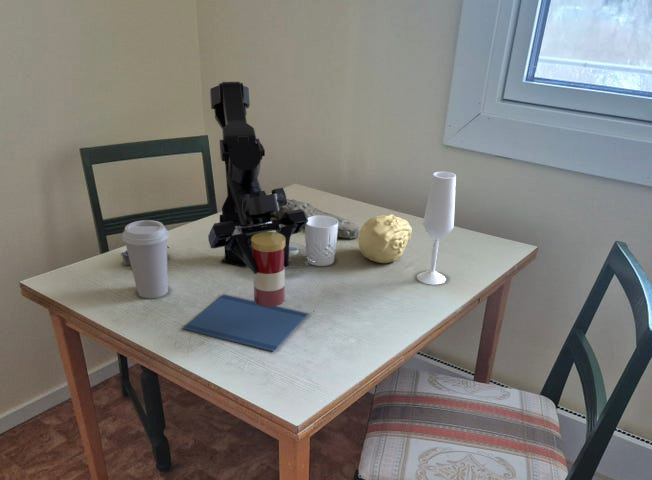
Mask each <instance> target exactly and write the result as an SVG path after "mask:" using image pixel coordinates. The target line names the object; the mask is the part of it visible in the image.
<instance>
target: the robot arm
mask: <svg viewBox="0 0 652 480" xmlns="http://www.w3.org/2000/svg"><path fill="white" fill-rule="evenodd" d="M249 89H250V88H249V87H248V86H246V85H244V83H243V82H240V81H221V82H219V83H218V85H216V86H213V87H211V88H209V100H210V109H211V110H213V112H214V113H213V114H214V119H215V120H216V122H217V123H218V125H219V127H220V128H221V131H222V139H219V153H220V160H221V161H222V162H224V167H225V180H226V192H227V194H226V195H227V196H226V198H225V200H224V202H223V205H222V207H221V214H219V222H215V223H214V224H213V225H212V227H211V229H210V231H209V234H208V236H207V238H208V242H209V243H208V244H209V246H210V248H211V249H219V248H223V247H224V257H223V258H222V259H221V262H222V263H224V264H230V265H233V266H235V265H236V266H239V267H248V269H249V270H250V271H251V272H252V274H253V273H254V274H256V273H257V267H256V263H255V261H254V258H253V252H252V246H251V237H252V236H253V235H255V234H257V233H261V232H274V231H275V232H276V233H280V234H282V235H284V236H285V238H286V245H285V269H287V268H288V267H289V265H290V241H291V237H292V235H296V234H299V233H301V231H302V230H303V229H304V228H305V225H306V223H307V222H308V218H307V215H306V213H305V212H304V211H303V210H301V209H299V210H293V211H287V212H285V213H284V214H283V216H282V217H281V219H279V218H278V219H272V218H275V211H280V209H279V206H284V205H286V204H287V199H288V198H287V194H286V191H285V189H284V187H278V188H274V189H272V190H271V193H268V194H267V192H266V191H265V190H262V187H261V183H260V181H259V175H260V170H261V162H262V160H263V157H265V156H266V152H265V151H266V150H265V148H264V145H263V144H262V143H261V140H260V138H257V136H256V130H255V128H254V127H253V126H251V124H249V123H248V121H247V117H246V116H247V109H249V108H250V105H251V103H250V90H249Z"/></svg>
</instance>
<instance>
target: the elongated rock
mask: <svg viewBox="0 0 652 480" xmlns="http://www.w3.org/2000/svg"><path fill="white" fill-rule="evenodd" d="M279 209H280V211H275V215H274V217H277V218H278V219H281V217H282V216H283V214H284V213H285V212H287V211H293V210H299V209H301V210H303V211H304V212H305V213H306V215H307V218H309V217H312V216H319V215H322V216H330V217H333V218H335V219H337V220H338V232H337V237H339V238H344V239H358V236H359V232H360V230H361V226H359V225H358V224H356V223H355V222H354V221H352V220H349V219H346V218H344V217H340V216H338V215H335V214H332V213H329V212H325V211H322V210H321V209H319V208H317V207H314V206H313V205H312V204H310V203H309V202H305V201H299V200H297V199H289V198H287V204H286V205H284V206H279Z"/></svg>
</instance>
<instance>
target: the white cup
mask: <svg viewBox="0 0 652 480" xmlns="http://www.w3.org/2000/svg"><path fill="white" fill-rule="evenodd" d="M337 232H338V220H337V219H335V218H333V217H330V216H322V215H319V216H312V217H309V218H308V222H307V223H306V225H305V226H304V235H305V236H304V239H305V249H306V250H305V251H306V253H305V254H306V255H307V257H308V258H309V259H311V260H312V261H315V262H312V261H310V260H308V259H307V257H306V262H307V263H308V264H310V265H311V266H317V267H325V266H330V265H332V264H334V263H335V258H336V250H337V243H338V241H337V240H338V236H337Z"/></svg>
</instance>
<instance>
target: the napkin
mask: <svg viewBox="0 0 652 480" xmlns="http://www.w3.org/2000/svg"><path fill="white" fill-rule="evenodd" d="M307 316H308V313H307V312H304V311H299V310H294V309H290V308H286V307H281V306H274V307H264V306H260V305H258V304H256V303H255V301H254V300H250V299H245V298H241V297H236V296H233V295H227V294H222V295H221V296H219V298H218V299H216V300H215V301H214V302H213V303H212V304H210V305H208V306H207V308H205V309H204V310H203V311H202V312H201V313H199V314H198V315H197V316H196V317H194V318H193V319H192V320H190V322H188V323H187V324H186V325H184V326H183V328H182V329H183V330H185V331H189V332H193V333H195V334H196V333H197V334H201V335H204V336H208V337H213V338H216V339H220V340H224V341H228V342H232V343H235V344H236V343H237V344H239V345H240V344H241V345H244V346H245V345H246V346H249V347H253V348H256V349H260V350H263V351H268V352H271V353H273V352H275V351H276V349H278V348H279V346H280V345H281V344H282V343H283V342H284V341H285V340H286V338H287V337H288V336H290V334H292V332H293V331H294V330H295V329H296V328H297V327H298V326H299V324H300V323H301V322H302V321H303V320H304V319H305V318H306V317H307Z"/></svg>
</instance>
